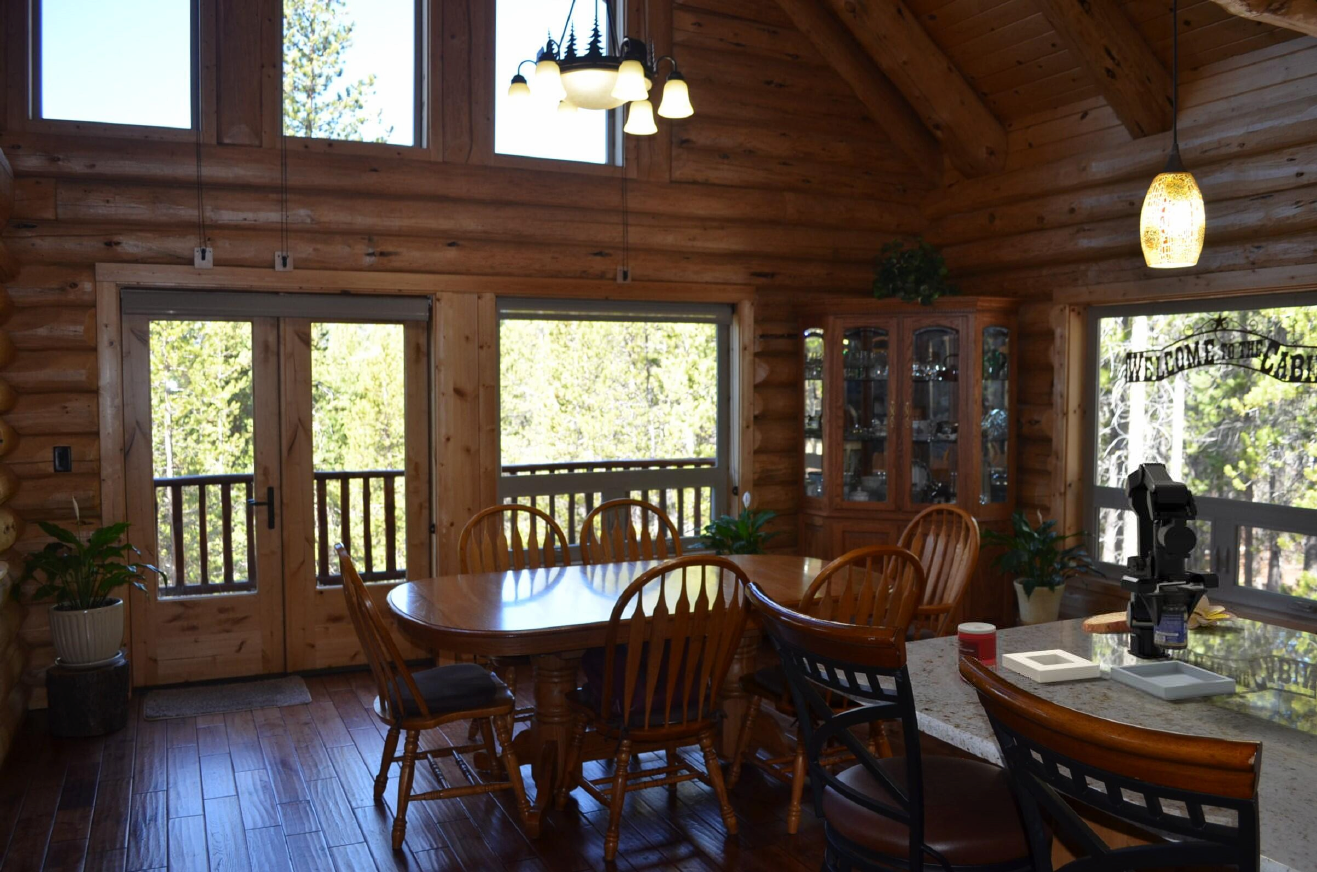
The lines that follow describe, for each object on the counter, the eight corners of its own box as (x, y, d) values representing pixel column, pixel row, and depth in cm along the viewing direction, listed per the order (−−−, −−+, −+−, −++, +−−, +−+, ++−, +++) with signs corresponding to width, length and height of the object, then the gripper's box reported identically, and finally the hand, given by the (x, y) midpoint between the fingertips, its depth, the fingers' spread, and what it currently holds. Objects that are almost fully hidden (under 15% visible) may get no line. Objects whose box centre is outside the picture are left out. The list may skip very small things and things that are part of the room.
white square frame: (1059, 660, 230) (1059, 649, 230) (1099, 676, 216) (1099, 664, 216) (1002, 665, 227) (1002, 654, 227) (1039, 682, 213) (1039, 670, 213)
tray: (1177, 672, 218) (1177, 660, 218) (1235, 692, 203) (1235, 680, 202) (1110, 678, 215) (1110, 666, 214) (1164, 700, 199) (1164, 687, 199)
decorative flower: (1200, 629, 247) (1193, 587, 250) (1162, 631, 258) (1156, 590, 260) (1246, 627, 253) (1239, 585, 255) (1207, 629, 263) (1201, 589, 265)
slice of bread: (1080, 633, 256) (1080, 618, 255) (1086, 618, 272) (1085, 604, 272) (1162, 639, 248) (1161, 623, 248) (1162, 623, 264) (1162, 608, 264)
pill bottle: (1191, 651, 205) (1191, 595, 204) (1158, 650, 206) (1158, 594, 205) (1182, 643, 211) (1182, 589, 210) (1150, 642, 212) (1150, 589, 211)
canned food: (997, 674, 220) (996, 623, 220) (996, 684, 213) (995, 631, 212) (959, 672, 223) (958, 621, 222) (957, 682, 215) (956, 629, 215)
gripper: (1181, 538, 217) (1181, 612, 218) (1102, 544, 213) (1103, 619, 214) (1221, 545, 207) (1221, 623, 207) (1139, 552, 202) (1140, 631, 203)
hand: (1170, 624), depth 208 cm, fingers closed on pill bottle, 6 cm apart
